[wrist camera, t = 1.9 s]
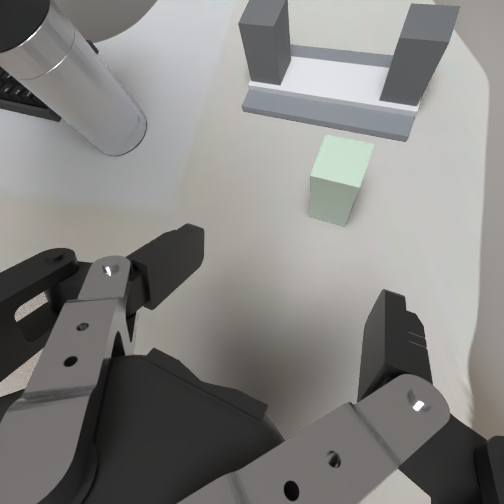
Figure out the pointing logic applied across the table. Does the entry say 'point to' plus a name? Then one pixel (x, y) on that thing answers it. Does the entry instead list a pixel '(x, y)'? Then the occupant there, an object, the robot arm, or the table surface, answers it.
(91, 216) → the table surface
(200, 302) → the table surface
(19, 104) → the computer keyboard
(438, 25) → the rail board
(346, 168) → the block
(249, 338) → the table surface
